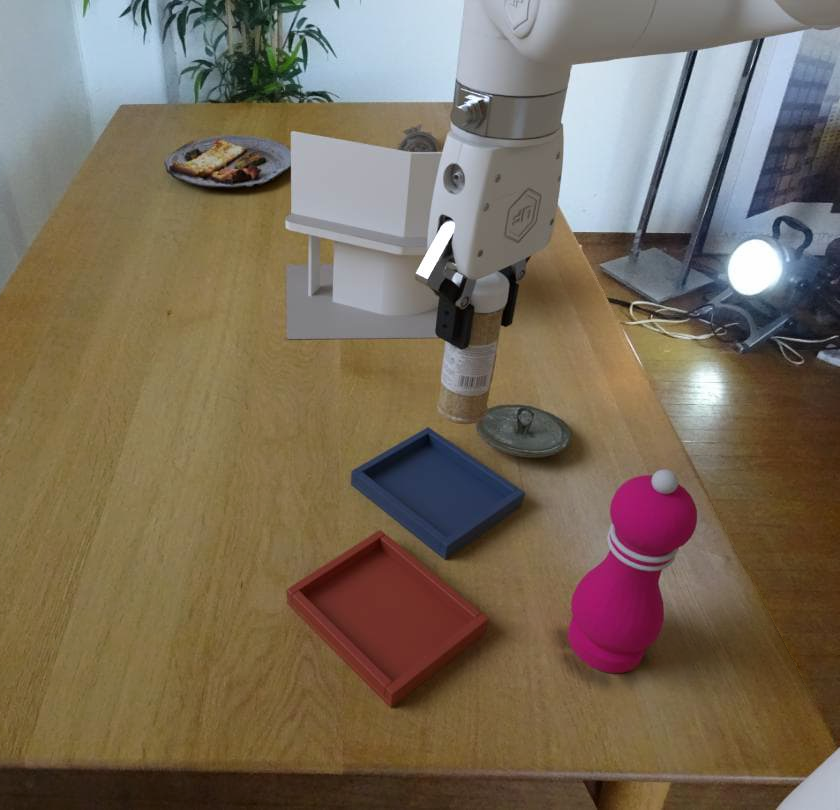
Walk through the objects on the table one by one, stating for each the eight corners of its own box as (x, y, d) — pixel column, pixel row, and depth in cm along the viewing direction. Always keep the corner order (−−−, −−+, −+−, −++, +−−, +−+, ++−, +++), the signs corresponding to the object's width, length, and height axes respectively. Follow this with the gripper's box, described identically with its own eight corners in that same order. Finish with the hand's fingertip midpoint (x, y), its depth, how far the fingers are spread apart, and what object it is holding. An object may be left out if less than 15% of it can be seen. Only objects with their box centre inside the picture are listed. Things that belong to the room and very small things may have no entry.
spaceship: (394, 166, 136) (440, 149, 134) (389, 120, 166) (426, 105, 164) (408, 209, 140) (453, 193, 138) (401, 156, 169) (438, 142, 167)
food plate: (243, 206, 142) (242, 187, 140) (141, 180, 152) (139, 161, 150) (315, 161, 159) (315, 143, 157) (219, 139, 169) (218, 123, 167)
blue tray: (522, 506, 83) (525, 492, 82) (445, 560, 78) (447, 546, 76) (426, 440, 92) (428, 426, 90) (350, 484, 86) (351, 470, 85)
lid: (503, 487, 88) (519, 461, 84) (455, 419, 93) (468, 391, 89) (577, 462, 91) (596, 435, 88) (528, 398, 97) (543, 370, 93)
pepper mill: (562, 669, 68) (618, 498, 56) (561, 602, 74) (612, 433, 61) (652, 687, 67) (731, 516, 54) (644, 617, 72) (714, 448, 60)
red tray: (485, 632, 71) (489, 618, 70) (390, 708, 65) (392, 694, 64) (379, 543, 79) (380, 529, 78) (286, 603, 74) (286, 588, 72)
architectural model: (466, 263, 125) (487, 110, 111) (494, 337, 109) (523, 168, 94) (286, 264, 125) (284, 111, 111) (286, 339, 108) (284, 170, 94)
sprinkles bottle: (488, 400, 74) (512, 268, 66) (484, 430, 70) (508, 295, 62) (438, 392, 75) (455, 261, 66) (432, 422, 71) (449, 288, 63)
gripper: (466, 151, 50) (436, 389, 61) (624, 97, 58) (572, 315, 69) (381, 120, 54) (368, 347, 65) (539, 74, 63) (503, 282, 74)
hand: (473, 328), depth 67 cm, fingers closed on sprinkles bottle, 4 cm apart
